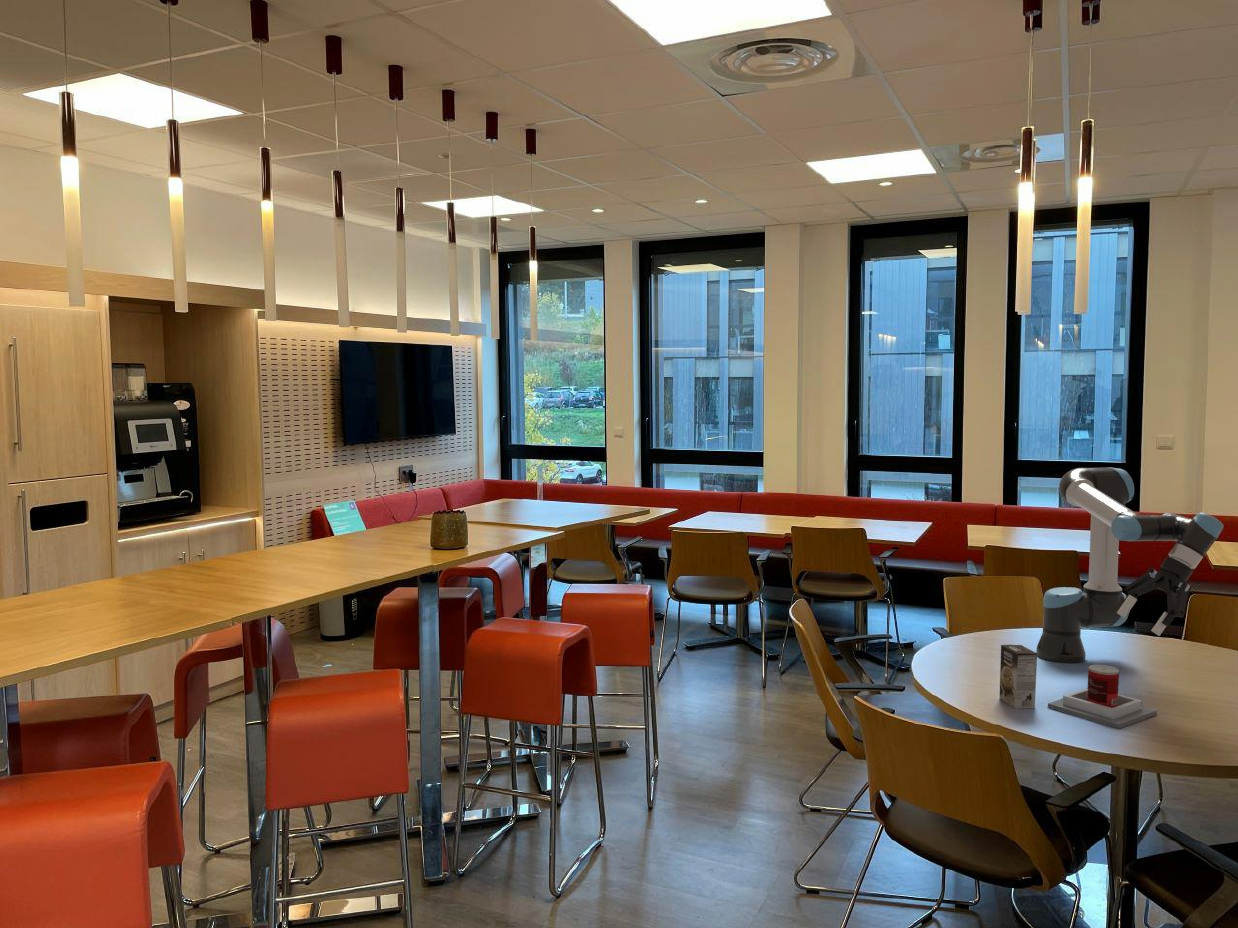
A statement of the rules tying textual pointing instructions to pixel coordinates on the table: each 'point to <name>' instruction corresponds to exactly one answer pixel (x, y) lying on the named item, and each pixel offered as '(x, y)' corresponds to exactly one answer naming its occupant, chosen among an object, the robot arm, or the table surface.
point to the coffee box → (1018, 676)
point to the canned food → (1103, 685)
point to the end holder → (1103, 709)
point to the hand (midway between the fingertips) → (1137, 624)
